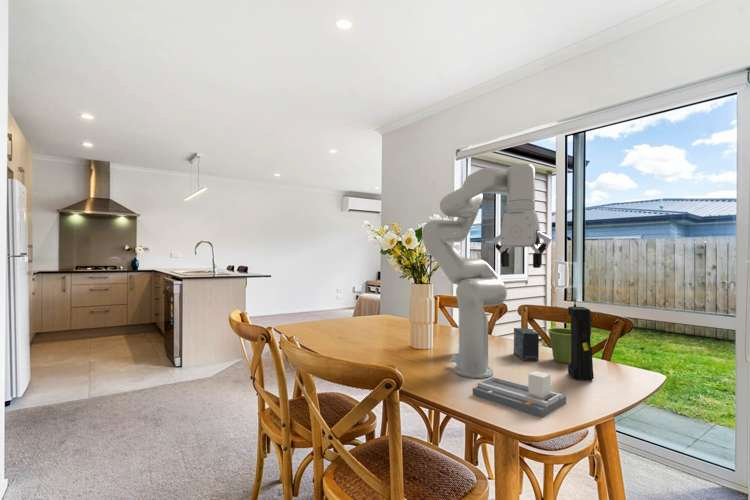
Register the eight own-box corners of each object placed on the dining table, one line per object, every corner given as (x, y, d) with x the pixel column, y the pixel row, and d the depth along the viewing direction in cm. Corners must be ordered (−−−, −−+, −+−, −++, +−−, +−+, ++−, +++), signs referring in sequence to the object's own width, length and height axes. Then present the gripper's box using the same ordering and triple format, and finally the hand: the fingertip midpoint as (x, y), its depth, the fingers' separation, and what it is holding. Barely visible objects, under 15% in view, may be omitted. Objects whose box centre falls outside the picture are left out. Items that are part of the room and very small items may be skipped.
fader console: (472, 395, 111) (472, 384, 111) (499, 384, 120) (499, 374, 120) (541, 417, 96) (541, 404, 96) (566, 403, 105) (566, 391, 105)
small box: (540, 361, 146) (540, 333, 146) (522, 361, 146) (522, 333, 146) (529, 353, 157) (529, 327, 157) (512, 353, 157) (512, 327, 157)
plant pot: (544, 362, 145) (544, 331, 145) (549, 355, 155) (549, 326, 155) (581, 367, 138) (581, 335, 138) (583, 359, 149) (583, 330, 149)
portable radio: (595, 382, 123) (595, 302, 123) (574, 381, 124) (574, 301, 124) (587, 374, 130) (587, 299, 130) (567, 373, 131) (567, 299, 132)
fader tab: (526, 397, 103) (526, 374, 103) (536, 392, 107) (537, 370, 107) (541, 401, 100) (541, 378, 100) (551, 396, 104) (551, 373, 104)
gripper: (487, 209, 117) (487, 266, 117) (544, 204, 104) (544, 268, 104) (500, 211, 122) (500, 266, 122) (556, 206, 109) (556, 267, 109)
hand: (520, 267), depth 113 cm, fingers open, 9 cm apart
